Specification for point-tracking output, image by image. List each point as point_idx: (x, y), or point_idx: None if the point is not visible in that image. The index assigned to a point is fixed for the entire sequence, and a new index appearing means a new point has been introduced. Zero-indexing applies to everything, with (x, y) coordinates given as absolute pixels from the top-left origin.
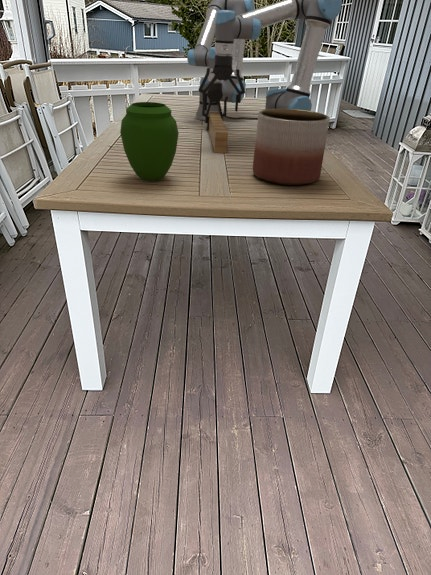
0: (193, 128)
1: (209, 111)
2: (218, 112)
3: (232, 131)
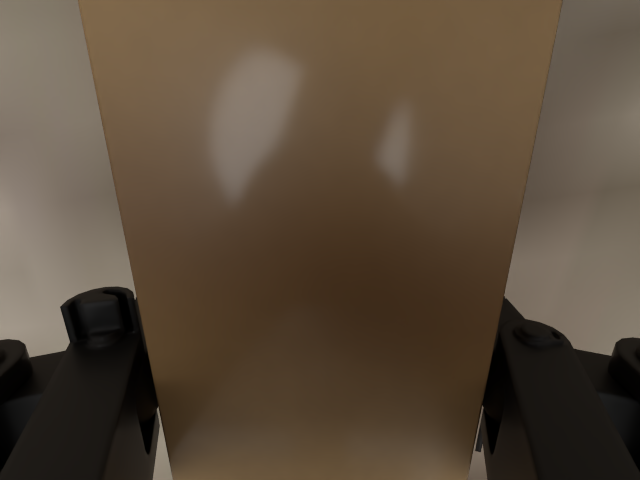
0: (7, 111)
1: (134, 31)
2: (510, 218)
3: (587, 238)
